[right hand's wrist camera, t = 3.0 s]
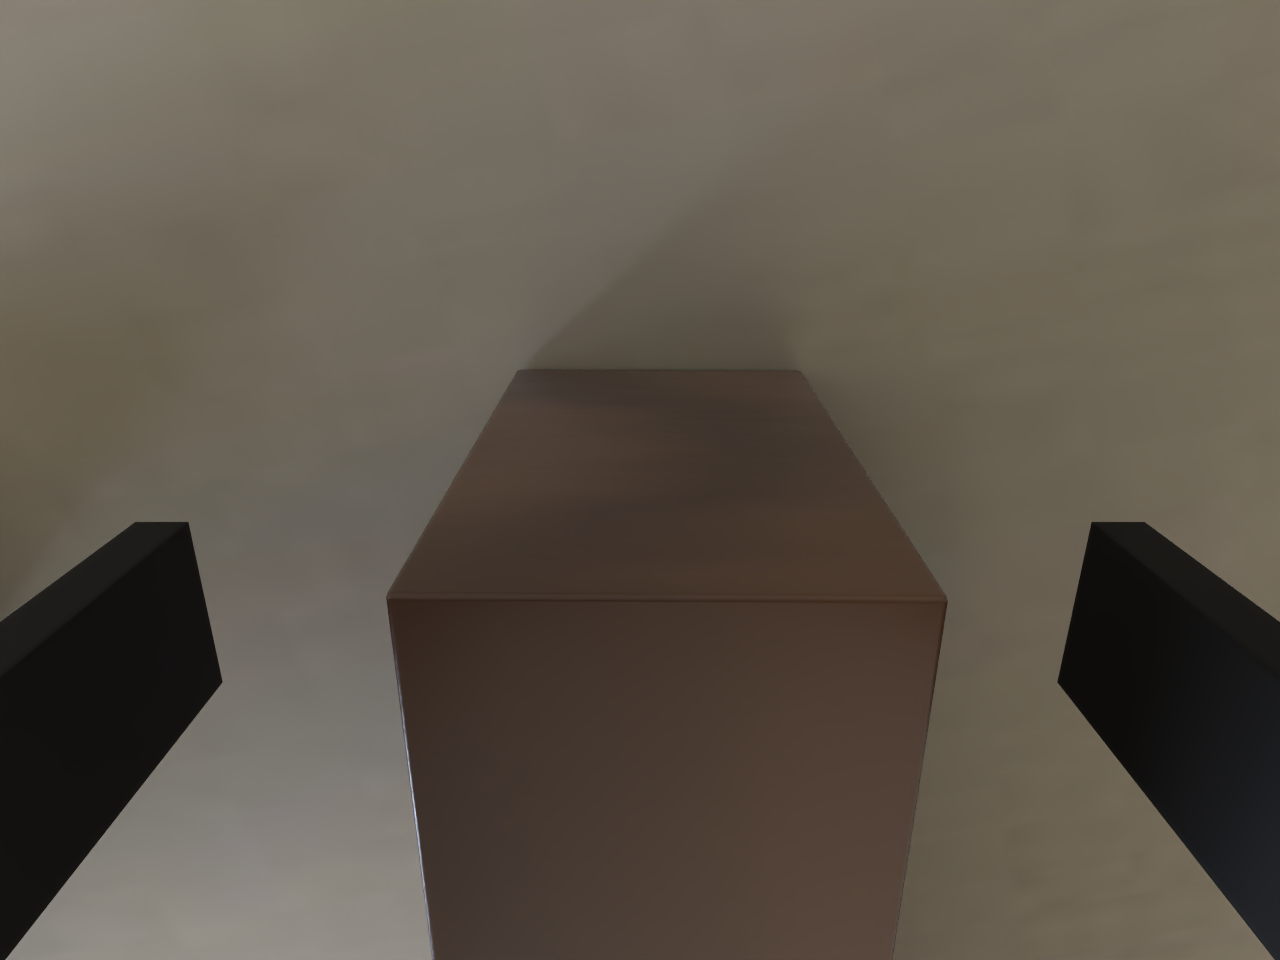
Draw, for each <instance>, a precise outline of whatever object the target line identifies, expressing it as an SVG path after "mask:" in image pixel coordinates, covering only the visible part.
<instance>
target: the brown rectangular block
mask: <svg viewBox="0 0 1280 960" xmlns="http://www.w3.org/2000/svg"><path fill="white" fill-rule="evenodd" d="M386 599H387V607H388V614H389V622H390V630H391V638H392V646H393V654H394V662H395V669H396V677H397V685H398V693H399V701H400V709H401V717H402V724H403V732H404V740H405V748H406V756H407V764H408V771H409V779H410V787H411V795H412V803H413V811H414V819H415V826H416V834H417V842H418V850H419V858H420V866H421V873H422V881H423V889H424V897H425V905H426V913H427V921H428V928H429V936H430V944H431V952H432V960H892V957H893V951H894V944H895V938H896V931H897V925H898V918H899V912H900V906H901V899H902V893H903V886H904V880H905V873H906V867H907V860H908V854H909V847H910V841H911V834H912V828H913V821H914V815H915V809H916V802H917V796H918V789H919V783H920V776H921V770H922V763H923V757H924V750H925V744H926V737H927V731H928V724H929V718H930V712H931V705H932V699H933V692H934V686H935V679H936V673H937V666H938V660H939V653H940V647H941V640H942V634H943V627H944V621H945V615H946V608H947V602H948V600H947V597H946V595H945V594H944V592H943V590H942V589H941V587H940V586H939V584H938V583H937V581H936V580H935V578H934V577H933V575H932V574H931V572H930V570H929V569H928V567H927V566H926V564H925V563H924V561H923V560H922V558H921V557H920V555H919V554H918V552H917V550H916V549H915V547H914V546H913V544H912V543H911V541H910V540H909V538H908V537H907V535H906V533H905V532H904V530H903V529H902V527H901V526H900V524H899V523H898V521H897V520H896V518H895V517H894V515H893V513H892V512H891V510H890V509H889V507H888V506H887V504H886V503H885V501H884V500H883V498H882V497H881V495H880V493H879V492H878V490H877V489H876V487H875V486H874V484H873V483H872V481H871V480H870V478H869V476H868V475H867V473H866V472H865V470H864V469H863V467H862V466H861V464H860V463H859V461H858V460H857V458H856V456H855V455H854V453H853V452H852V450H851V449H850V447H849V446H848V444H847V443H846V441H845V440H844V438H843V436H842V435H841V433H840V432H839V430H838V429H837V427H836V426H835V424H834V423H833V421H832V420H831V418H830V416H829V415H828V413H827V412H826V410H825V409H824V407H823V406H822V404H821V403H820V401H819V399H818V398H817V396H816V395H815V393H814V392H813V390H812V389H811V387H810V386H809V384H808V383H807V381H806V379H805V378H804V376H803V375H802V373H801V372H800V371H702V370H519V371H517V373H516V375H515V376H514V378H513V380H512V382H511V383H510V385H509V387H508V388H507V390H506V392H505V394H504V395H503V397H502V399H501V400H500V402H499V404H498V405H497V407H496V409H495V411H494V412H493V414H492V416H491V417H490V419H489V421H488V423H487V424H486V426H485V428H484V429H483V431H482V433H481V434H480V436H479V438H478V440H477V441H476V443H475V445H474V446H473V448H472V450H471V452H470V453H469V455H468V457H467V458H466V460H465V462H464V463H463V465H462V467H461V469H460V470H459V472H458V474H457V475H456V477H455V479H454V481H453V482H452V484H451V486H450V487H449V489H448V491H447V492H446V494H445V496H444V498H443V499H442V501H441V503H440V504H439V506H438V508H437V510H436V511H435V513H434V515H433V516H432V518H431V520H430V521H429V523H428V525H427V527H426V528H425V530H424V532H423V533H422V535H421V537H420V539H419V540H418V542H417V544H416V545H415V547H414V549H413V551H412V552H411V554H410V556H409V557H408V559H407V561H406V562H405V564H404V566H403V568H402V569H401V571H400V573H399V574H398V576H397V578H396V580H395V581H394V583H393V585H392V586H391V588H390V590H389V591H388V593H387V596H386Z"/></svg>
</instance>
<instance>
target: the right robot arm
mask: <svg viewBox="0 0 1280 960" xmlns="http://www.w3.org/2000/svg"><path fill="white" fill-rule="evenodd" d="M221 684H222V677H221V673H220V668H219V663H218V659H217V654H216V649H215V645H214V640H213V635H212V631H211V626H210V621H209V617H208V612H207V607H206V603H205V598H204V593H203V589H202V584H201V579H200V575H199V570H198V565H197V561H196V556H195V551H194V547H193V542H192V537H191V533H190V528H189V523H188V522H135V523H134V524H132V525H131V526H130V527H128V528H127V529H126V530H124V531H123V532H121V533H120V534H119V535H117V536H116V537H115V538H113V539H112V540H111V541H109V542H108V543H107V544H105V545H104V546H103V547H101V548H100V549H98V550H97V551H96V552H94V553H93V554H92V555H90V556H89V557H88V558H86V559H85V560H84V561H82V562H81V563H80V564H78V565H77V566H76V567H74V568H73V569H71V570H70V571H69V572H67V573H66V574H65V575H63V576H62V577H61V578H59V579H58V580H57V581H55V582H54V583H53V584H51V585H50V586H48V587H47V588H46V589H44V590H43V591H42V592H40V593H39V594H38V595H36V596H35V597H34V598H32V599H31V600H30V601H28V602H27V603H25V604H24V605H23V606H21V607H20V608H19V609H17V610H16V611H15V612H13V613H12V614H11V615H9V616H8V617H7V618H5V619H4V620H2V621H1V622H0V960H5V959H6V958H7V957H8V956H9V954H10V953H11V952H12V950H13V949H14V948H15V947H16V945H17V944H18V943H19V941H20V940H21V939H22V938H23V936H24V935H25V934H26V933H27V931H28V930H29V929H30V927H31V926H32V925H33V924H34V922H35V921H36V920H37V918H38V917H39V916H40V915H41V913H42V912H43V911H44V910H45V908H46V907H47V906H48V904H49V903H50V902H51V901H52V899H53V898H54V897H55V896H56V894H57V893H58V892H59V890H60V889H61V888H62V887H63V885H64V884H65V883H66V881H67V880H68V879H69V878H70V876H71V875H72V874H73V873H74V871H75V870H76V869H77V867H78V866H79V865H80V864H81V862H82V861H83V860H84V858H85V857H86V856H87V855H88V853H89V852H90V851H91V850H92V848H93V847H94V846H95V844H96V843H97V842H98V841H99V839H100V838H101V837H102V835H103V834H104V833H105V832H106V830H107V829H108V828H109V827H110V825H111V824H112V823H113V821H114V820H115V819H116V818H117V816H118V815H119V814H120V812H121V811H122V810H123V809H124V807H125V806H126V805H127V804H128V802H129V801H130V800H131V798H132V797H133V796H134V795H135V793H136V792H137V791H138V790H139V788H140V787H141V786H142V784H143V783H144V782H145V781H146V779H147V778H148V777H149V775H150V774H151V773H152V772H153V770H154V769H155V768H156V767H157V765H158V764H159V763H160V761H161V760H162V759H163V758H164V756H165V755H166V754H167V752H168V751H169V750H170V749H171V747H172V746H173V745H174V744H175V742H176V741H177V740H178V738H179V737H180V736H181V735H182V733H183V732H184V731H185V729H186V728H187V727H188V726H189V724H190V723H191V722H192V721H193V719H194V718H195V717H196V715H197V714H198V713H199V712H200V710H201V709H202V708H203V707H204V705H205V704H206V703H207V701H208V700H209V699H210V698H211V696H212V695H213V694H214V692H215V691H216V690H217V689H218V687H219V686H220V685H221ZM1058 684H1059V685H1060V686H1061V687H1062V689H1063V690H1064V691H1065V692H1066V694H1067V695H1068V696H1069V698H1070V699H1071V700H1072V701H1073V703H1074V704H1075V705H1076V707H1077V708H1078V709H1079V710H1080V712H1081V713H1082V714H1083V715H1084V717H1085V718H1086V719H1087V721H1088V722H1089V723H1090V724H1091V726H1092V727H1093V728H1094V729H1095V731H1096V732H1097V733H1098V735H1099V736H1100V737H1101V738H1102V740H1103V741H1104V742H1105V744H1106V745H1107V746H1108V747H1109V749H1110V750H1111V751H1112V752H1113V754H1114V755H1115V756H1116V758H1117V759H1118V760H1119V761H1120V763H1121V764H1122V765H1123V767H1124V768H1125V769H1126V770H1127V772H1128V773H1129V774H1130V775H1131V777H1132V778H1133V779H1134V781H1135V782H1136V783H1137V784H1138V786H1139V787H1140V788H1141V790H1142V791H1143V792H1144V793H1145V795H1146V796H1147V797H1148V798H1149V800H1150V801H1151V802H1152V804H1153V805H1154V806H1155V807H1156V809H1157V810H1158V811H1159V812H1160V814H1161V815H1162V816H1163V818H1164V819H1165V820H1166V821H1167V823H1168V824H1169V825H1170V827H1171V828H1172V829H1173V830H1174V832H1175V833H1176V834H1177V835H1178V837H1179V838H1180V839H1181V841H1182V842H1183V843H1184V844H1185V846H1186V847H1187V848H1188V850H1189V851H1190V852H1191V853H1192V855H1193V856H1194V857H1195V858H1196V860H1197V861H1198V862H1199V864H1200V865H1201V866H1202V867H1203V869H1204V870H1205V871H1206V873H1207V874H1208V875H1209V876H1210V878H1211V879H1212V880H1213V881H1214V883H1215V884H1216V885H1217V887H1218V888H1219V889H1220V890H1221V892H1222V893H1223V894H1224V896H1225V897H1226V898H1227V899H1228V901H1229V902H1230V903H1231V904H1232V906H1233V907H1234V908H1235V910H1236V911H1237V912H1238V913H1239V915H1240V916H1241V917H1242V918H1243V920H1244V921H1245V922H1246V924H1247V925H1248V926H1249V927H1250V929H1251V930H1252V931H1253V933H1254V934H1255V935H1256V936H1257V938H1258V939H1259V940H1260V941H1261V943H1262V944H1263V945H1264V947H1265V948H1266V949H1267V950H1268V952H1269V953H1270V954H1271V956H1272V957H1273V958H1274V959H1275V960H1280V622H1279V621H1278V620H1276V619H1275V618H1273V617H1272V616H1271V615H1269V614H1268V613H1267V612H1265V611H1264V610H1263V609H1261V608H1260V607H1259V606H1257V605H1256V604H1255V603H1253V602H1252V601H1250V600H1249V599H1248V598H1246V597H1245V596H1244V595H1242V594H1241V593H1240V592H1238V591H1237V590H1236V589H1234V588H1233V587H1232V586H1230V585H1229V584H1227V583H1226V582H1225V581H1223V580H1222V579H1221V578H1219V577H1218V576H1217V575H1215V574H1214V573H1213V572H1211V571H1210V570H1209V569H1207V568H1206V567H1204V566H1203V565H1202V564H1200V563H1199V562H1198V561H1196V560H1195V559H1194V558H1192V557H1191V556H1190V555H1188V554H1187V553H1186V552H1184V551H1183V550H1182V549H1180V548H1179V547H1177V546H1176V545H1175V544H1173V543H1172V542H1171V541H1169V540H1168V539H1167V538H1165V537H1164V536H1163V535H1161V534H1160V533H1159V532H1157V531H1156V530H1154V529H1153V528H1152V527H1150V526H1149V525H1148V524H1146V523H1145V522H1092V523H1091V528H1090V533H1089V537H1088V542H1087V547H1086V551H1085V556H1084V561H1083V565H1082V570H1081V575H1080V579H1079V584H1078V589H1077V593H1076V598H1075V603H1074V607H1073V612H1072V617H1071V621H1070V626H1069V631H1068V635H1067V640H1066V645H1065V649H1064V654H1063V659H1062V663H1061V668H1060V673H1059V677H1058Z"/></svg>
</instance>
